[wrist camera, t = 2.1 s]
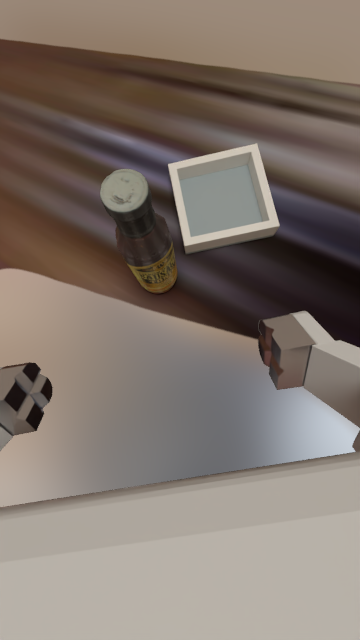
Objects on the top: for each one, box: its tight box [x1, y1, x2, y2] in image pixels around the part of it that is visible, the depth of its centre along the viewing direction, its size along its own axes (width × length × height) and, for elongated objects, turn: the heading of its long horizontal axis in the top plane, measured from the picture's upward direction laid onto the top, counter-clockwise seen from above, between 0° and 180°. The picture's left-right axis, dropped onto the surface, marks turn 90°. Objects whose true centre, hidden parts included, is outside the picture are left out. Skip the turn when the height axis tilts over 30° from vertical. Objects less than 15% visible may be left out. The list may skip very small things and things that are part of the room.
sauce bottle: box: [100, 169, 177, 294], centre depth 28 cm, size 7×6×20 cm
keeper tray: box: [168, 144, 280, 254], centre depth 37 cm, size 14×14×3 cm
